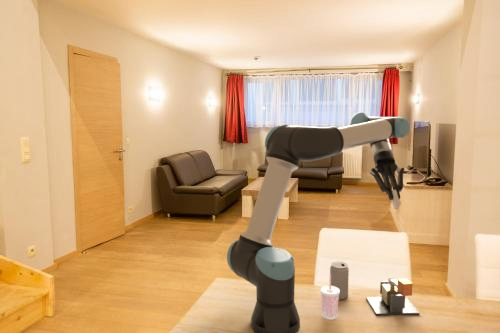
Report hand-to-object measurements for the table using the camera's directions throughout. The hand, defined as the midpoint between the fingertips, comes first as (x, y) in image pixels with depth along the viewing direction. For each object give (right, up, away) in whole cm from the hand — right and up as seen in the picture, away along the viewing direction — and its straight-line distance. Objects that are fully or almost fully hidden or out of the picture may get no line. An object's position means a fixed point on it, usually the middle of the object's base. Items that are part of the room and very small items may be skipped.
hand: (397, 206), depth 139 cm
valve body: (-5, -33, -9) cm, 35 cm away
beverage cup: (-27, -34, -14) cm, 46 cm away
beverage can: (-21, -32, -1) cm, 39 cm away
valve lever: (-5, -25, -14) cm, 29 cm away
